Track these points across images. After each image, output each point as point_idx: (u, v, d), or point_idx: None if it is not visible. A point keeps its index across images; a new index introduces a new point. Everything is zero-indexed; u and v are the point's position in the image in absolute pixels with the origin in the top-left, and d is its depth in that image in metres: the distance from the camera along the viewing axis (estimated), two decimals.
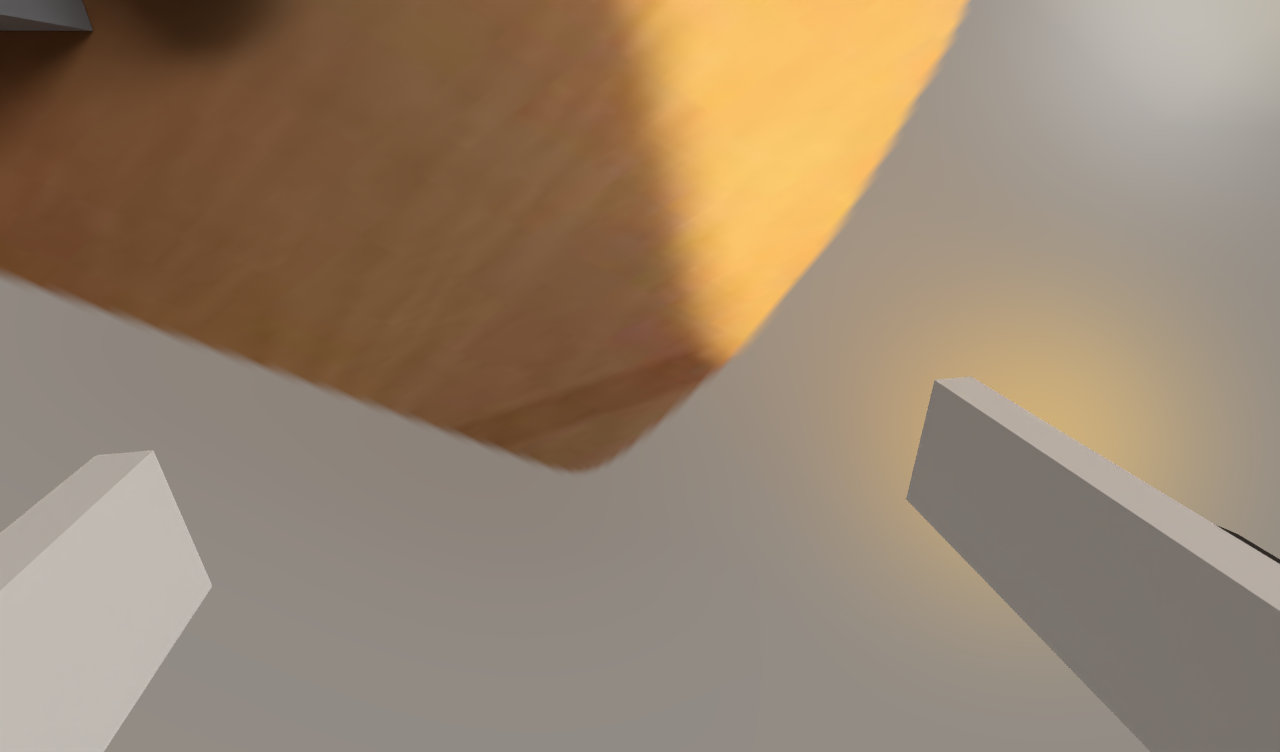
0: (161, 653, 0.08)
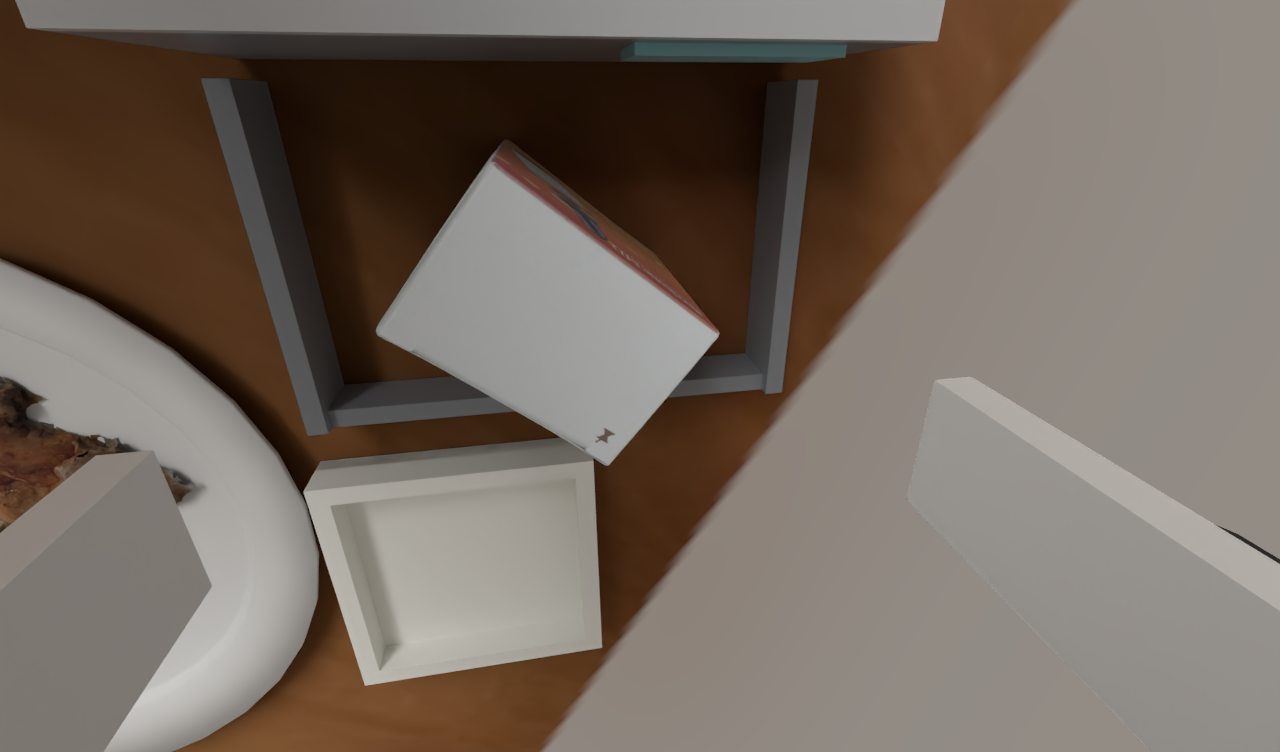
0: (161, 653, 0.08)
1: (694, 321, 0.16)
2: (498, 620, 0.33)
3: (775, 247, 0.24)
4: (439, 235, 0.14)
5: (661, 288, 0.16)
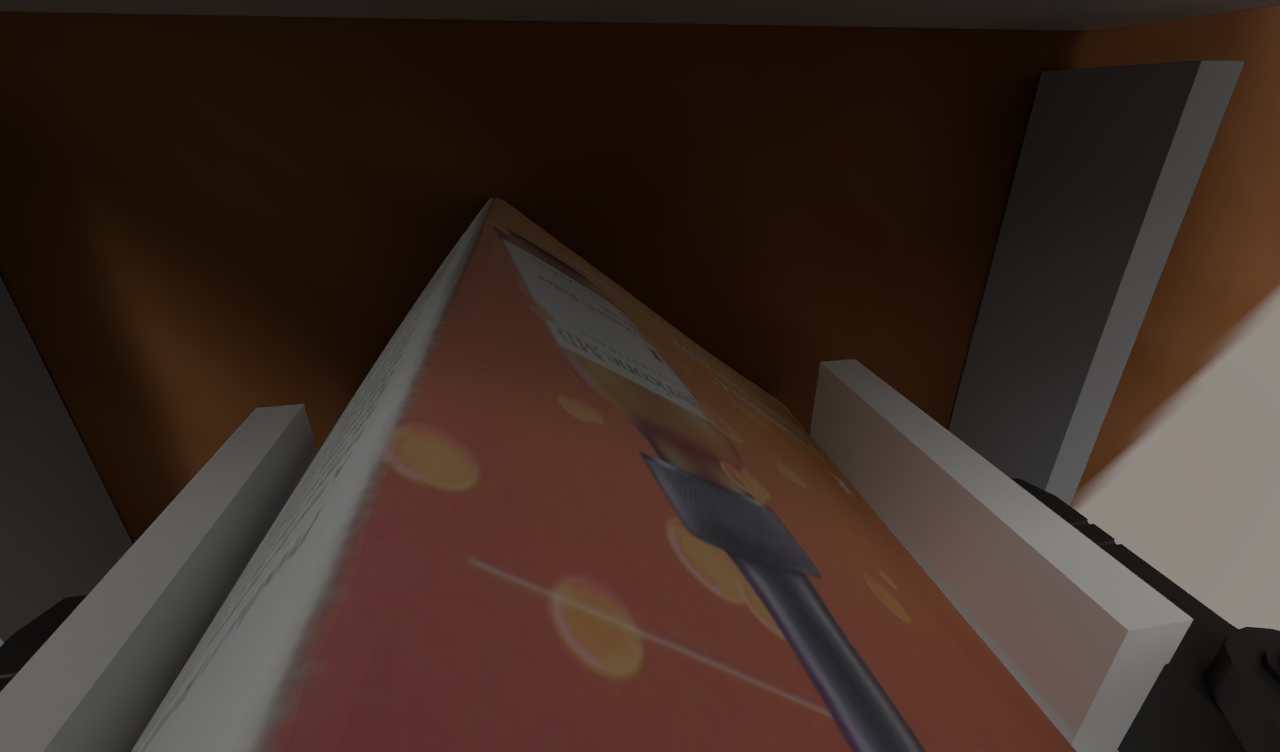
0: None
1: None
2: None
3: (1047, 410, 0.12)
4: None
5: None
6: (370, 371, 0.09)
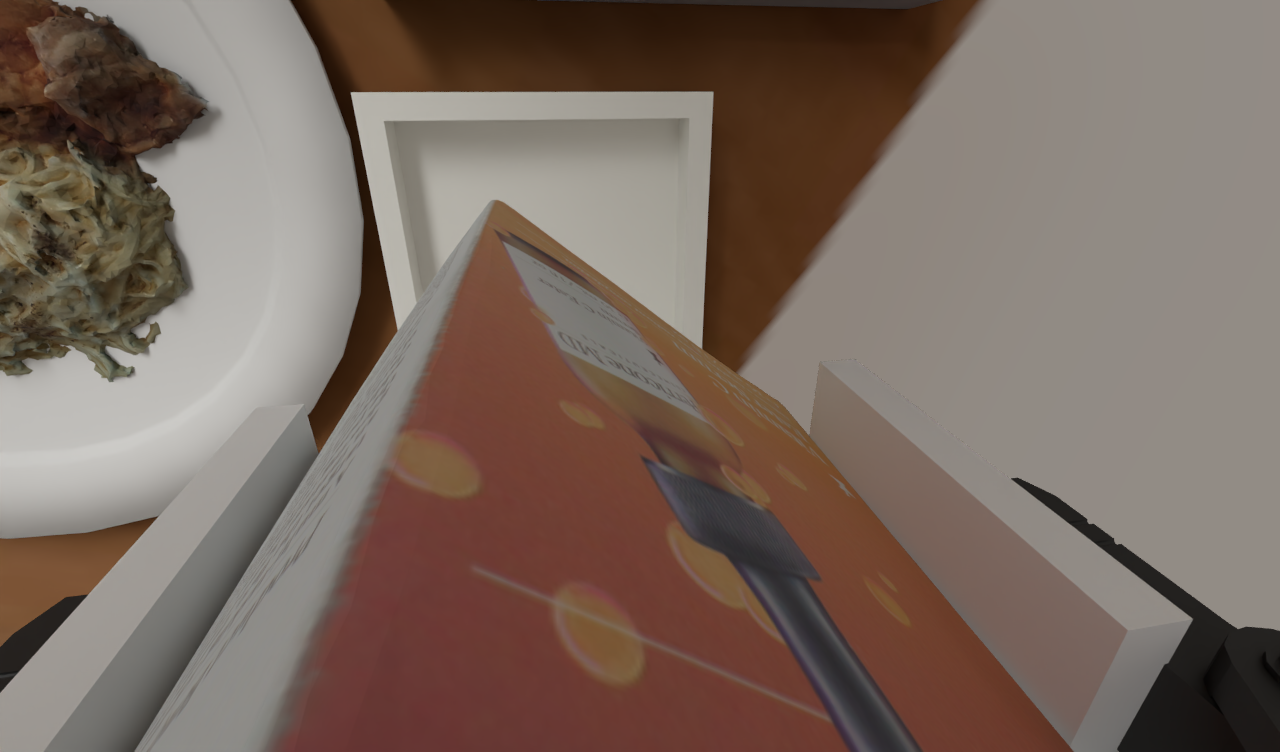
0: None
1: None
2: None
3: None
4: None
5: None
6: (371, 373, 0.09)
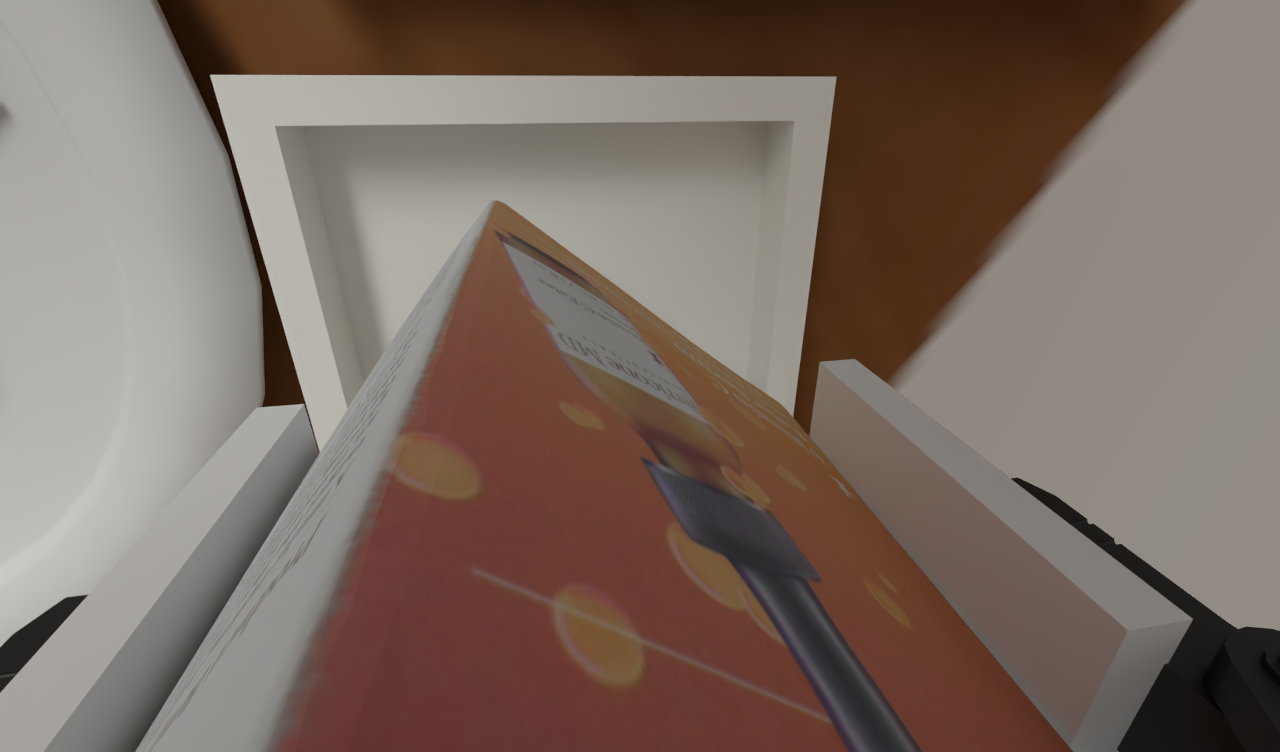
0: None
1: None
2: None
3: None
4: None
5: None
6: (371, 374, 0.09)
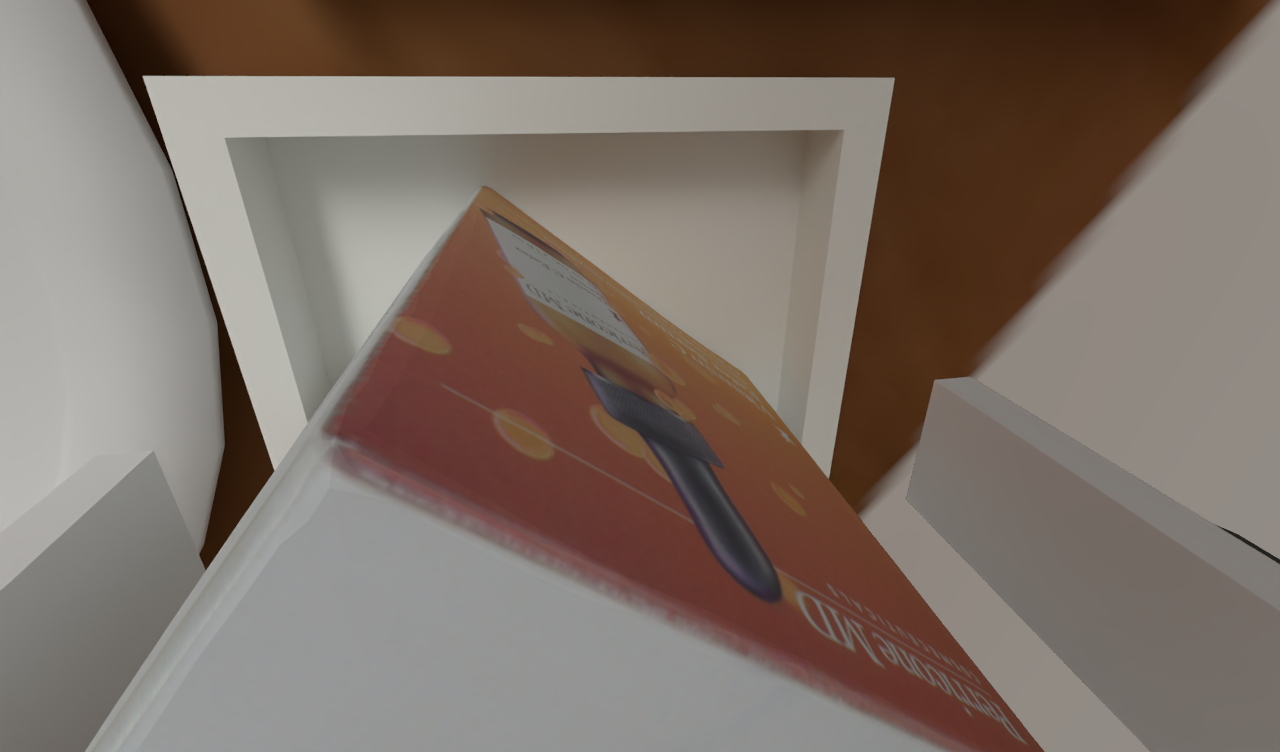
0: None
1: None
2: None
3: None
4: (120, 711, 0.03)
5: (957, 740, 0.05)
6: None
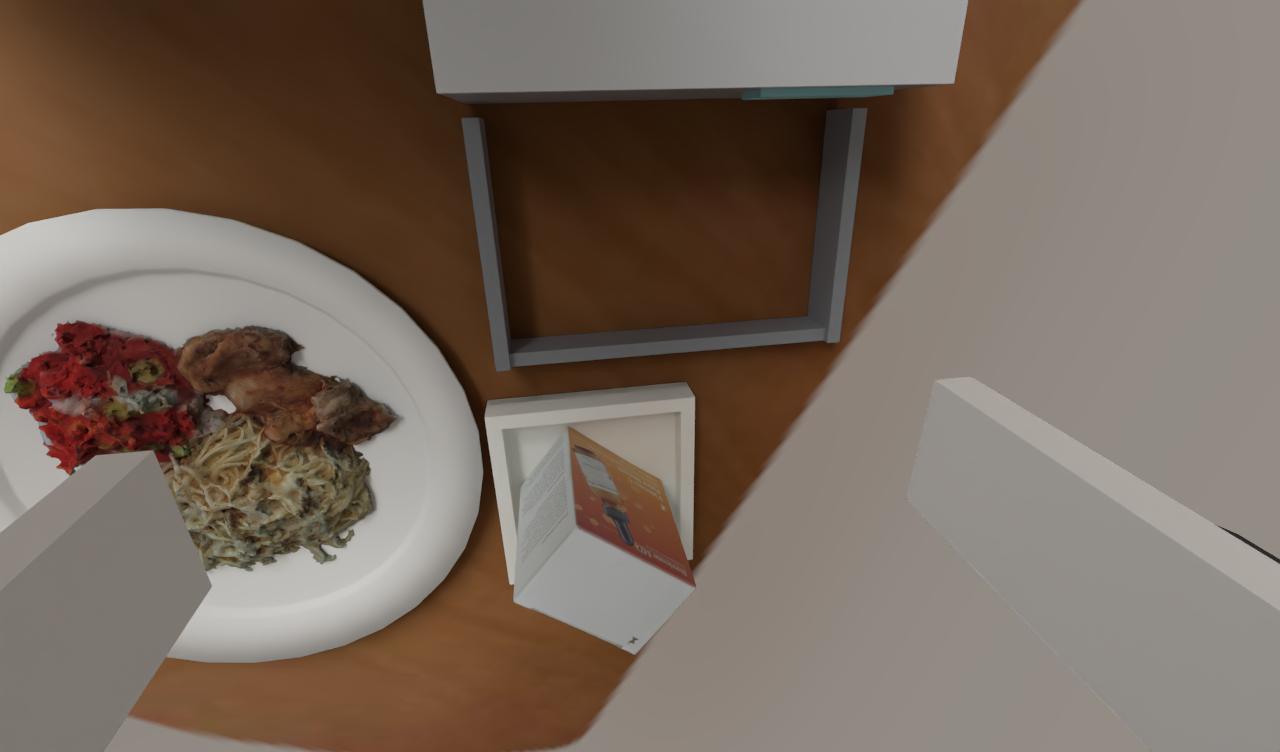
0: (161, 653, 0.08)
1: (681, 583, 0.30)
2: None
3: (835, 229, 0.33)
4: (548, 556, 0.28)
5: (663, 569, 0.29)
6: (538, 479, 0.35)
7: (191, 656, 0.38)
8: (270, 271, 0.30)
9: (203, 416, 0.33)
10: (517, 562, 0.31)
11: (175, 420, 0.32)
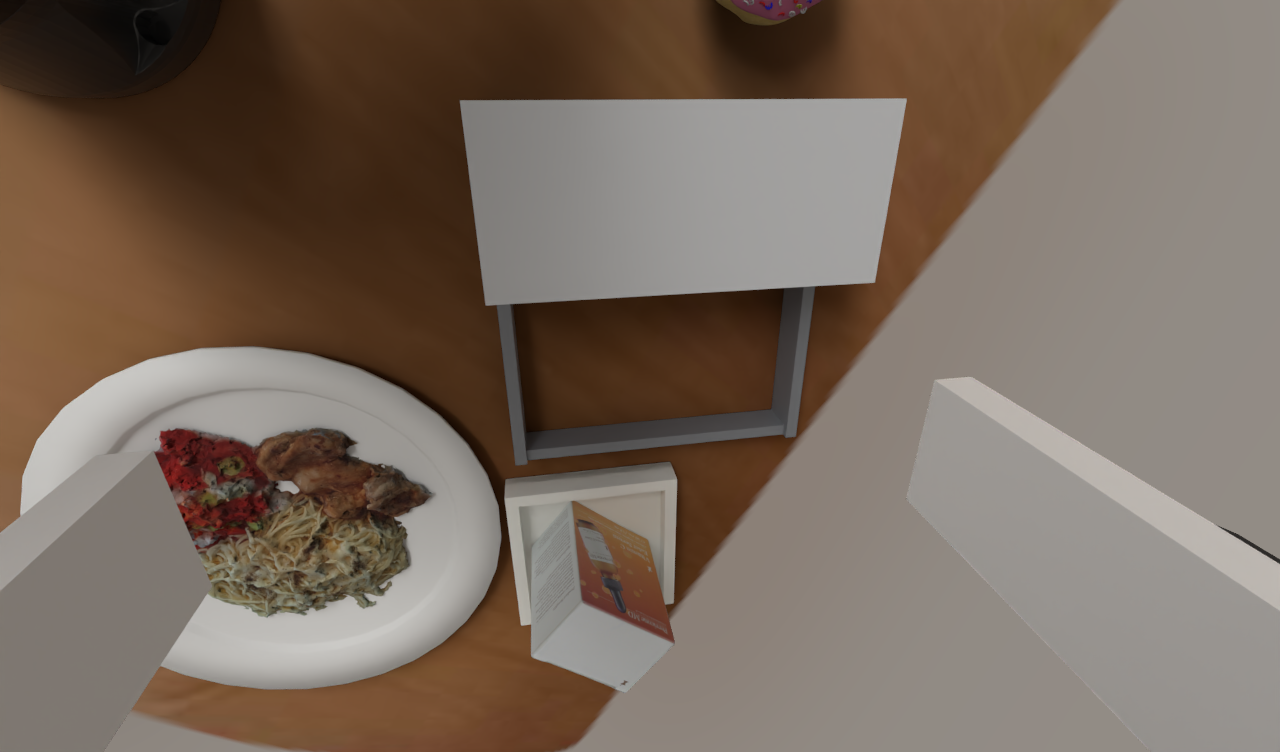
0: (161, 653, 0.08)
1: (663, 640, 0.38)
2: None
3: (792, 352, 0.40)
4: (559, 623, 0.36)
5: (649, 630, 0.37)
6: (547, 545, 0.43)
7: (255, 685, 0.46)
8: (334, 389, 0.37)
9: (273, 497, 0.40)
10: (532, 621, 0.38)
11: (252, 503, 0.39)
